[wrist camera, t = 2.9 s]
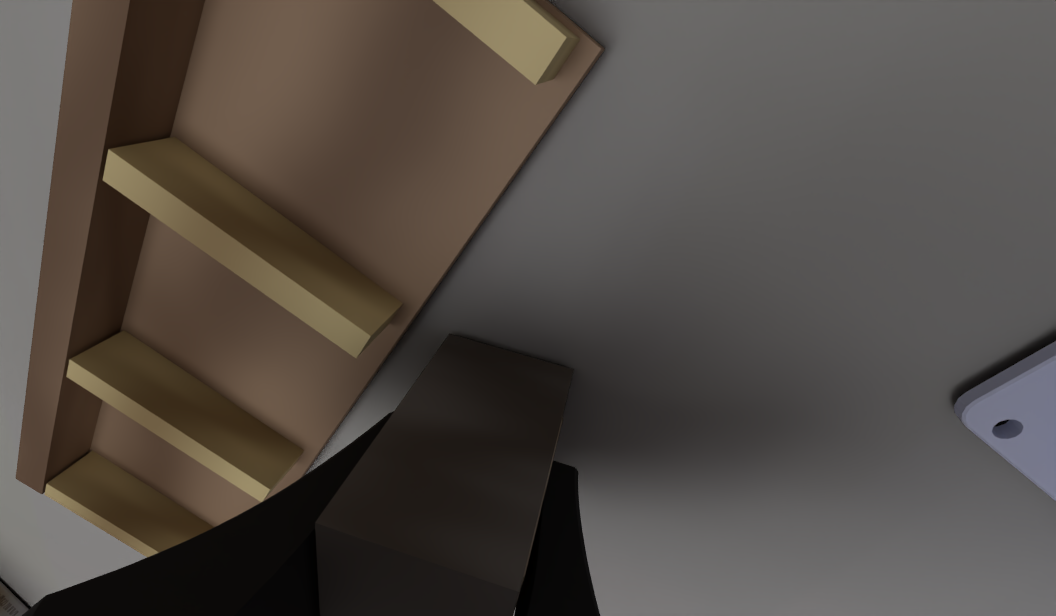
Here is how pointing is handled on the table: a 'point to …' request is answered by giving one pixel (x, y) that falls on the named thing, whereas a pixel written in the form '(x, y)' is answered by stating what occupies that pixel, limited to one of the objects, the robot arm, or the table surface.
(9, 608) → the coffee box
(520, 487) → the black box
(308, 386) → the rack
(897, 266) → the table surface
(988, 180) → the table surface
